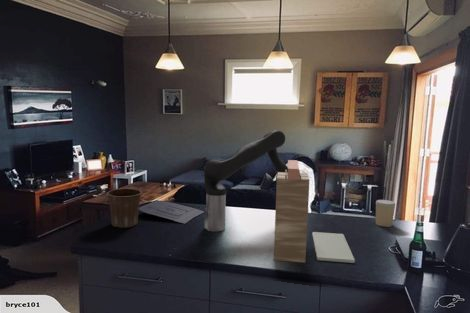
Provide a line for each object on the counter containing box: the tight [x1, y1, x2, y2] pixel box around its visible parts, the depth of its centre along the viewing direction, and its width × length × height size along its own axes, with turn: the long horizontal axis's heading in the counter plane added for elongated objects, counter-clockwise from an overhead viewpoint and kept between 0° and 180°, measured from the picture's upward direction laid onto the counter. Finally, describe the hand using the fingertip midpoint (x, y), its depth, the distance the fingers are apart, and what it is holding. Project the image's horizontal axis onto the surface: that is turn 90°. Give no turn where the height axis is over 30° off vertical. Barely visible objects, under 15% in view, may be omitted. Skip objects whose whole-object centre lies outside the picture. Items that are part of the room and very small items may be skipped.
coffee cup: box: [375, 199, 396, 228], centre depth 188 cm, size 9×9×12 cm
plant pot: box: [106, 188, 143, 229], centre depth 178 cm, size 16×16×16 cm
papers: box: [139, 200, 205, 225], centre depth 198 cm, size 24×30×4 cm
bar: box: [287, 159, 300, 180], centre depth 146 cm, size 24×4×4 cm, turn 172°
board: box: [311, 231, 356, 264], centre depth 155 cm, size 30×14×1 cm, turn 172°
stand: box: [273, 169, 310, 264], centre depth 145 cm, size 14×12×33 cm
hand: (291, 175), depth 166 cm, fingers open, 8 cm apart
